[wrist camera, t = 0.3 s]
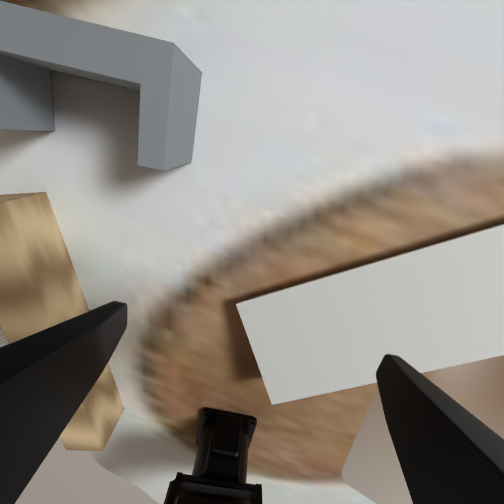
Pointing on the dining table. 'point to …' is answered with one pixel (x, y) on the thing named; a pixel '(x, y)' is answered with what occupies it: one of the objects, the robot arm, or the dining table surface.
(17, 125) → the end cap
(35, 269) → the oak slat
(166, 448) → the dining table surface
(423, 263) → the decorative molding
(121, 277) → the dining table surface
